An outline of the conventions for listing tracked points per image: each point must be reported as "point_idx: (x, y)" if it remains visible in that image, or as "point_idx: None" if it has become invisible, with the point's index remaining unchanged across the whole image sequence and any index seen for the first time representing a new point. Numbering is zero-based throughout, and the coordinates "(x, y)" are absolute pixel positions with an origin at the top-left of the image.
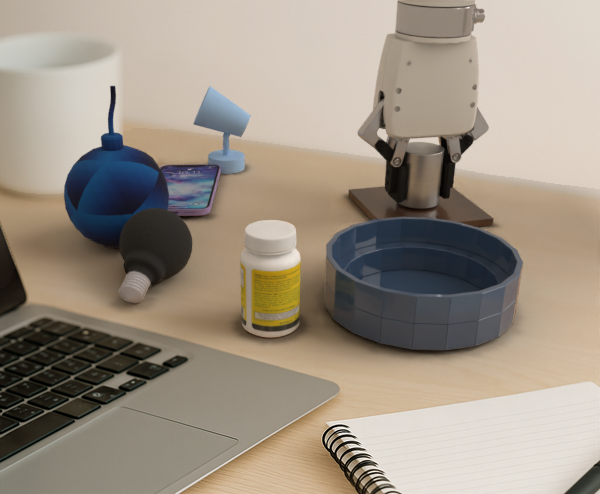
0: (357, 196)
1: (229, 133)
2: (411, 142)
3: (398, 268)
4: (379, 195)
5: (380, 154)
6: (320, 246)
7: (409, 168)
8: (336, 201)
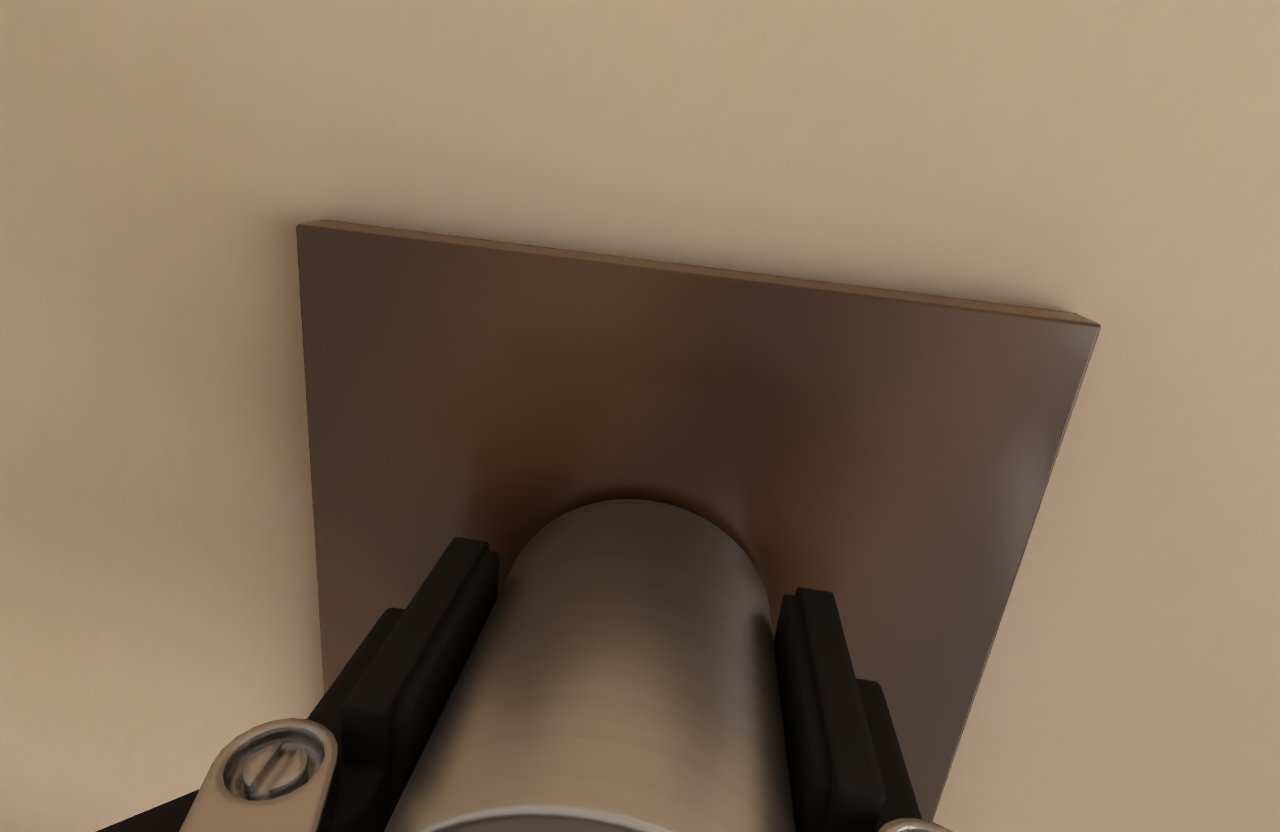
0: (316, 378)
1: None
2: (549, 826)
3: None
4: (465, 414)
5: (172, 803)
6: (46, 747)
7: None
8: (224, 281)
